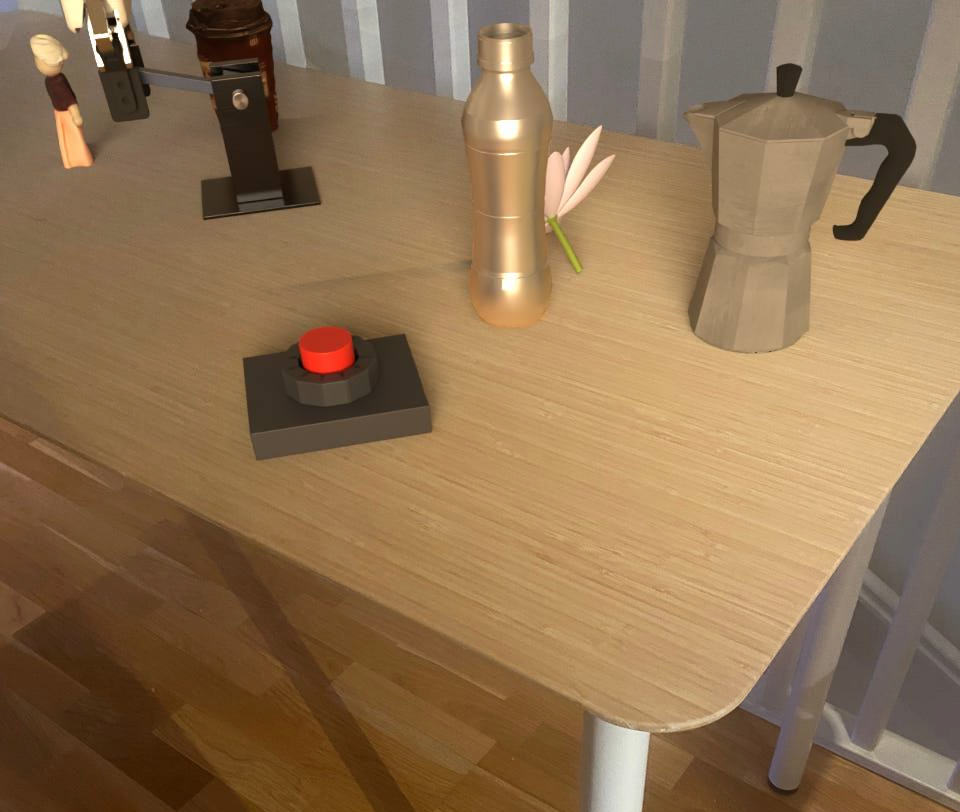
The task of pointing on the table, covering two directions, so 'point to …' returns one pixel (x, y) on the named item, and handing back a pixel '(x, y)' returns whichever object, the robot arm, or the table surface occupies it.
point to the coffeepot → (778, 205)
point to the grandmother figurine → (62, 100)
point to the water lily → (570, 187)
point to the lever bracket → (250, 151)
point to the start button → (326, 350)
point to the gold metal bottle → (508, 179)
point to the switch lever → (177, 80)
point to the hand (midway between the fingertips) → (132, 105)
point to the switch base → (334, 399)
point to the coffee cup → (235, 41)
